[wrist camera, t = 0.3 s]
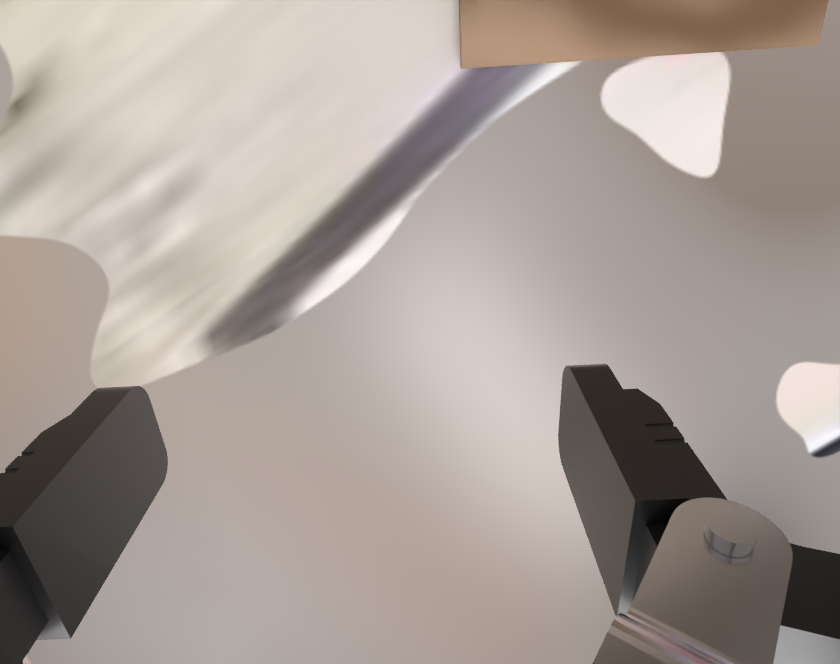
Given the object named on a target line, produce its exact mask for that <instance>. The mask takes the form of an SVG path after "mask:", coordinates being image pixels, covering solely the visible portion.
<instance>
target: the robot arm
mask: <svg viewBox="0 0 840 664" xmlns="http://www.w3.org/2000/svg"><path fill="white" fill-rule="evenodd" d="M558 436H559V437H558V438H559V439H558V440H559V452H560V458H561V463H562V466H563V469H564V472H565V475H566V478H567V480H568V483H569V486H570V489H571V492H572V494H573V497H574V500H575V503H576V506H577V508H578V511H579V514H580V517H581V520H582V522H583V525H584V528H585V531H586V534H587V537H588V539H589V542H590V545H591V548H592V550H593V553H594V556H595V559H596V562H597V565H598V567H599V570H600V573H601V576H602V578H603V581H604V584H605V587H606V590H607V593H608V595H609V598H610V601H611V604H612V607H613V610H614V612H615V615H616V618H615V619H614V621H613V623H612V624H611V626H610V628H609V630H608V632H607V634H606V636H605V639H604V641H603V643H602V645H601V647H600V649H599V651H598V654H597V656H596V658H595V660H594V662H593V664H840V554H836V553H831V552H826V551H821V550H816V549H811V548H806V547H802V546H798V545H794V544H791V543H789V541H788V539H787V538H786V536H785V535H784V534H783V532H782V531H781V530H780V529H779V528H778V527H777V526H776V525H775V524H774V523H773V522H772V521H770V520H769V519H768V518H766V517H765V516H763V515H762V514H760V513H759V512H757V511H755V510H753V509H751V508H749V507H747V506H744V505H742V504H740V503H736V502H733V501H730V500H727V499H726V497H725V496H724V494H723V493H722V492H721V490H720V489H719V487H718V486H717V485H716V483H715V482H714V480H713V479H712V477H711V476H710V474H709V473H708V472H707V470H706V469H705V467H704V466H703V464H702V463H701V462H700V460H699V459H698V457H697V456H696V455H695V453H694V452H693V450H692V449H691V447H690V446H689V445H688V443H685V441H684V437H683V436H682V434H681V433H680V432H679V430H678V429H677V427H674V426H673V422H672V420H671V419H670V417H669V416H668V415H667V413H666V412H665V410H664V409H663V407H662V406H661V405H660V404H659V403H658V402H656V401H655V400H653V399H652V398H650V397H649V396H647V395H646V394H645V393H643V392H641V391H640V390H639V389H623V388H622V387H621V385H620V384H619V382H618V381H617V379H616V377H615V376H614V374H613V372H612V371H611V369H610V368H609V366H608V365H607V364H595V365H574V366H566V367H565V368H564V371H563V377H562V390H561V406H560V419H559V434H558ZM167 464H168V459H167V452H166V448H165V445H164V442H163V439H162V436H161V432H160V429H159V426H158V423H157V420H156V417H155V414H154V411H153V408H152V405H151V402H150V399H149V396H148V394H147V392H146V391H145V390H144V389H143V388H142V387H140V386H131V387H111V388H98V389H96V390H94V391H93V392H92V393H91V394H90V396H88V397H87V398H86V399H85V400H84V401H83V402H82V403H81V404H80V405H79V407H78V408H77V409H76V410H75V411H74V412H73V413H72V414H71V415H69V416H67V417H66V418H64V419H63V420H61V421H59V422H58V423H56V424H55V425H53V426H51V427H50V428H48V429H47V430H45V431H43V432H42V433H41V434H40V435H39V436H38V437H37V438H36V439H35V440H34V441H33V442H32V443H31V444H30V445H29V446H28V447H27V448H26V449H25V450H24V451H23V452H22V456H18V457H17V458H16V459H15V460H14V461H13V462H12V463H11V464H10V465H9V466H8V467H7V468H6V469H5V470H6V471H5V473H1V474H0V664H31V662H30V660H29V659H28V657H27V653H28V652H29V650H30V649H31V647H32V646H33V644H34V643H35V641H36V640H48V639H70V638H71V637H72V636H73V634H74V632H75V631H76V629H77V627H78V626H79V624H80V622H81V620H82V619H83V617H84V615H85V614H86V612H87V610H88V609H89V607H90V605H91V604H92V602H93V600H94V598H95V597H96V595H97V594H98V592H99V590H100V588H101V587H102V585H103V583H104V582H105V580H106V578H107V577H108V575H109V573H110V572H111V570H112V568H113V567H114V565H115V563H116V562H117V560H118V558H119V556H120V555H121V553H122V552H123V550H124V548H125V547H126V545H127V543H128V541H129V540H130V538H131V536H132V535H133V533H134V531H135V530H136V528H137V526H138V525H139V523H140V521H141V520H142V518H143V516H144V515H145V513H146V511H147V510H148V508H149V506H150V505H151V503H152V501H153V500H154V498H155V496H156V494H157V493H158V491H159V489H160V488H161V486H162V484H163V482H164V480H165V477H166V472H167V466H168V465H167Z"/></svg>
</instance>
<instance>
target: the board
mask: <svg viewBox="0 0 840 664" xmlns="http://www.w3.org/2000/svg"><path fill="white" fill-rule="evenodd" d="M827 3H828V0H459V19H460V59H461V69H464V68H479V67H494V66H509V65H524V64H540V63H555V62H570V61H585V60H600V59H615V58H630V57H646V56H661V55H676V54H692V53H707V52H722V51H737V50H752V49H768V48H783V47H797V46H813V45H818V43H819V39H820V34H821V30H822V26H823V21H824V17H825V12H826V8H827Z"/></svg>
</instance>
